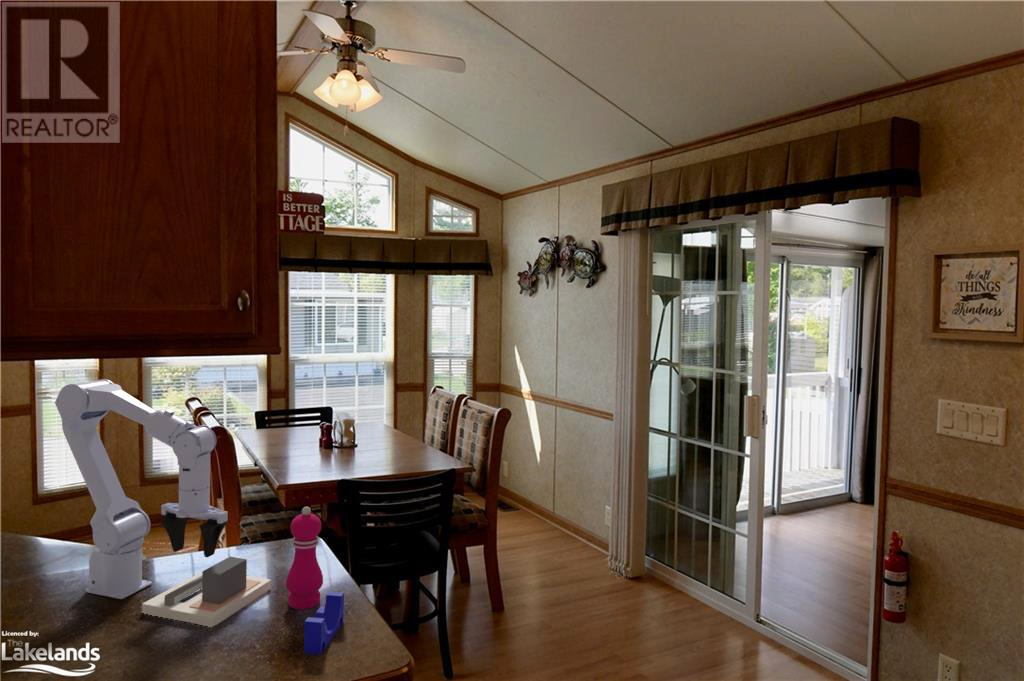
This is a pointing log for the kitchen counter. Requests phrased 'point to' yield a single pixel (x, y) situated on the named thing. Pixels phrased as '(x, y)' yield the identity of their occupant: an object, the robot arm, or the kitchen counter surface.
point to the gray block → (224, 580)
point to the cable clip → (324, 624)
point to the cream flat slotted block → (200, 610)
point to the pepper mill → (305, 562)
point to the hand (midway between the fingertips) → (193, 552)
